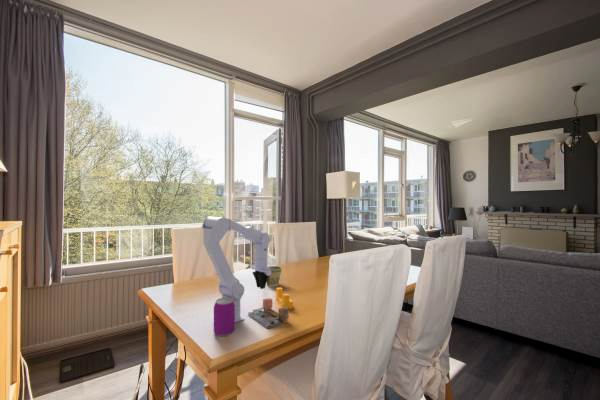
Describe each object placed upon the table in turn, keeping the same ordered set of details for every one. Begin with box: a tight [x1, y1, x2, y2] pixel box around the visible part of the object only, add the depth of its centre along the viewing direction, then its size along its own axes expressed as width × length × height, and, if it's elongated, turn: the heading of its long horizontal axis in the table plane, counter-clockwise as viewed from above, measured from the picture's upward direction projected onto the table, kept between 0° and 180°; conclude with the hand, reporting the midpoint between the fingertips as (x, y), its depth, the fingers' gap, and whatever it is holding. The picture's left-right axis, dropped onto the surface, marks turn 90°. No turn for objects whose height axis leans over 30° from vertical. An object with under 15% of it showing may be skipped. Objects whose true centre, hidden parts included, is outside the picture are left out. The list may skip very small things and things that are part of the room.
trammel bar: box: [263, 307, 290, 324], centre depth 121 cm, size 9×15×6 cm, turn 38°
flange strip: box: [247, 309, 282, 330], centre depth 120 cm, size 6×16×2 cm, turn 38°
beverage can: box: [213, 297, 236, 337], centre depth 109 cm, size 8×8×12 cm
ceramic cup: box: [266, 265, 282, 288], centre depth 169 cm, size 13×10×10 cm
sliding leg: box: [251, 297, 273, 312], centre depth 126 cm, size 9×2×4 cm, turn 128°
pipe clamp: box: [275, 287, 294, 310], centre depth 138 cm, size 12×4×6 cm, turn 22°
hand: (261, 287), depth 133 cm, fingers open, 2 cm apart
